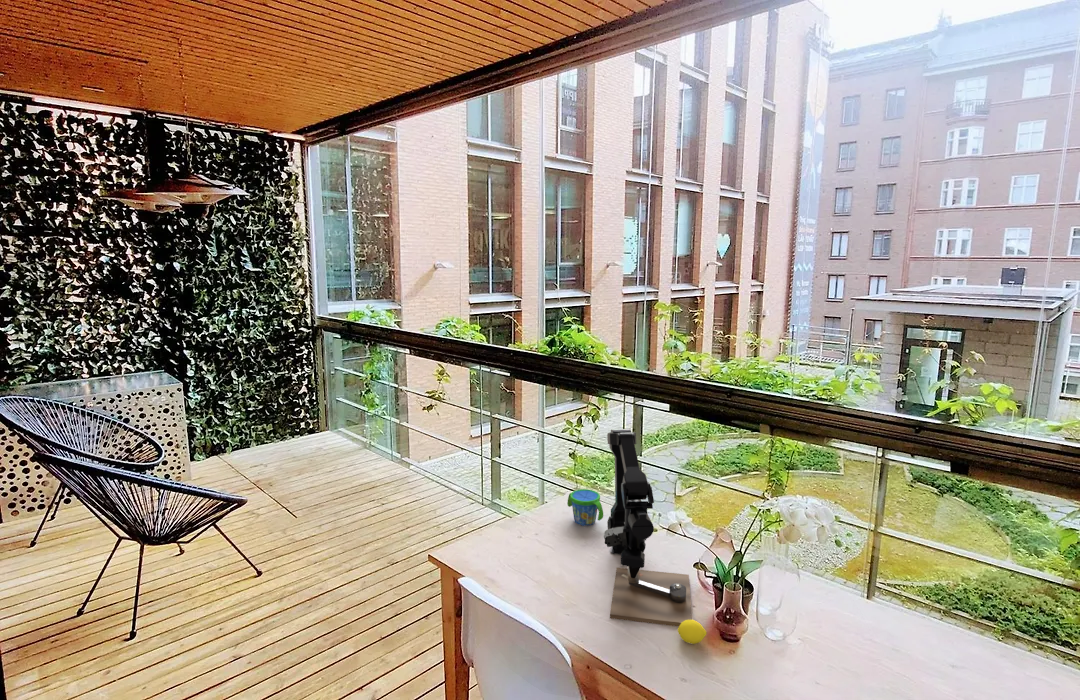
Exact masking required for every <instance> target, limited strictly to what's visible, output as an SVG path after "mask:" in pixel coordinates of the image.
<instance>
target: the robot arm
mask: <svg viewBox="0 0 1080 700" xmlns="http://www.w3.org/2000/svg"><path fill="white" fill-rule="evenodd" d="M606 437H607V439H606V440H607V444H608V445H609V449H610V451H611V453H612V454H613V456H614V487H615V488H614V490H615V492H614V494H615V495H614V497H615V502H614V504H613V505H612V507H611V509H610V516H609V517H608V519H607V523H606V524H607V529H606V530H604V533H603V538H604V544H605V545H606V546H607V548H610V554H617V555H621V556H620V565H621V566H623V567H628V566H629V571H630V575H631V578H635V577H636V575H637V573H638V571H639V570H641V568H644V567H645V557H646V555H645V553H644V552H645V549H646V541H647V539H648V538H651V536H652V535H653V533H654V529H655V528H654V525H653V522H652V520H651V517H649V514H648V510H650V509H653V508H654V507H653V504H654V503H655V499H654V494H653V487H652V486H651V484H650V482H649V481H648V478H647V476H646V474H645V472H643V471H642V470H641V468H640V464H639V463H640V462H639V459H638V454H637V450H636V445H637V432H634V431H632V430H631V428H618V429H617V428H615V429H614V428H612V429H610V432H607V434H606ZM643 500H645V501H643Z"/></svg>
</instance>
